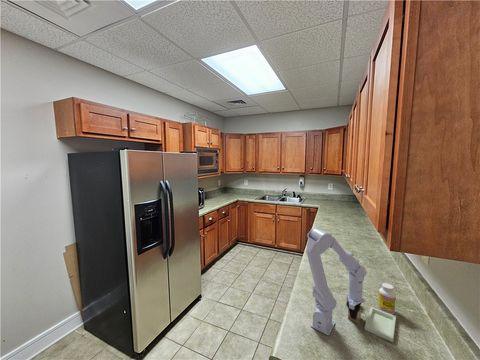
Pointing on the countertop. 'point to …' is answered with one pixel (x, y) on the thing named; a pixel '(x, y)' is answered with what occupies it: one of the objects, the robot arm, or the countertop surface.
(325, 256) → the countertop surface
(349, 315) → the cube
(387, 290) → the supplement bottle
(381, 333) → the tray
